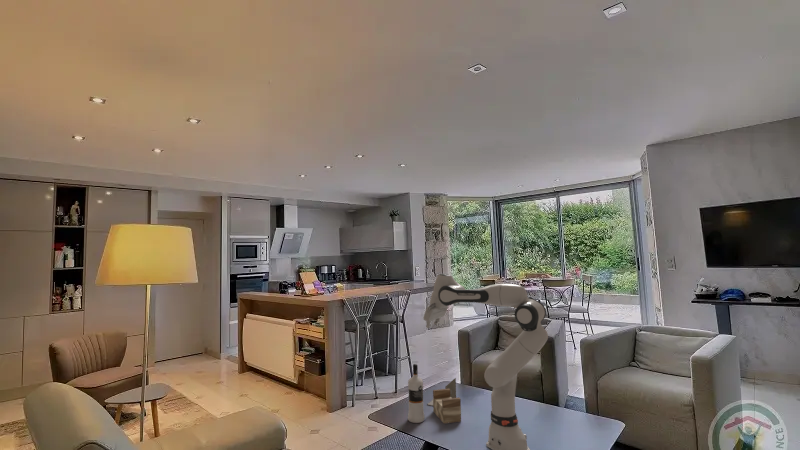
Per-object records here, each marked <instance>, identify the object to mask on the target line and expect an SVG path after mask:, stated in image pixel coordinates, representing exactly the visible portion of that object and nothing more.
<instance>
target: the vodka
mask: <svg viewBox="0 0 800 450" xmlns="http://www.w3.org/2000/svg"><path fill="white" fill-rule="evenodd" d="M418 373H419V371H418V364H417V363H413V364H412V377H411V378H409V379H408V381H407V385H408V386H407V389H408V415H407V420H408V421H409V422H410V423H412V424H420V423H422V422H424V421H425V420H426V419H425V413H424V410H425V409H424V381H423V379H422V378H421V377H420V376H419V375H418Z"/></svg>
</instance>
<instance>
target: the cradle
mask: <svg viewBox="0 0 800 450" xmlns="http://www.w3.org/2000/svg"><path fill="white" fill-rule="evenodd" d="M432 397H433V398H432V400H433V406H432V407H433V413H434V414H435V415H436V417H438V418H439V420H440V421H441V422H442V424H450V423H451V424H452V423H458V422H459V423H460V422H462V403H461V401H462V400H461V397H456V398H451V397H450V389H449V388H448V389H445V388H440V389H433V390H432Z"/></svg>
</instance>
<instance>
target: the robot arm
mask: <svg viewBox="0 0 800 450" xmlns="http://www.w3.org/2000/svg"><path fill="white" fill-rule="evenodd" d="M458 303H459V304H460V303H477V304H483V305H484V304H485V305H490V306H495V307H507V308H508V307H509V308H514V309H515V310H514V319H515V321H516V323H517V324H518V325H519V326H520V329H522V331H521V332H520V333H519V334H518V335H517V337H515V339H514V340H513V341H512V342H511V343H510V344H509V345H508V346H507V347H506V348H505V349H504V350H503V351H502V352H501V353H500V354H499V355H498V356H497V357H496V358H495V359H494V360H493V361H492V362H491V363H490V364H489V365H488V366H487V367H486V369H485V371H484V374H483V375H484V381H485V382H486V384H487V385H488V386H489V387H491V388H492V390H491V391H492V392H491V395H490V396H491V397H490V399H491V401H490V402H491V404H490V405H491V411H490V420H491V421H490V424H489V426H488V441H486V442H485V445H486V447H487V448H489V449H490V450H531V449H530V447H529V446H528V443H527V440H528V436H527V434H526V433H524V432H523V431H522V428H521V427H520V425H519V419H518V417H517V412H516V389H517V380H518V373H520V371H521V370H523V368H524V367H526V366H527V365H528V363H529V362H530V361H532V359H534V357H535V356H536V355H537V354H538V353H539V352H540V350H541V349H542V348H544V346H545V344H546V343H547V341H548V339H549V335H548V332H547V330H546V329H545V328H544V327H543V325H542V323H541V322H542V321H544V320H545V317H546V315H547V309H546V307H545V305H544V304H543V303H542V302H541V301H538V300H537V299H535V298H534V297H532V296H530V297H528V293H527V290H526V288H525V287H524V286H522V285H519V284H514V283H513V284H512V283H495V284H489V285H485V286H483V287H478V288H474V289H473V288H472V289H466V288H465V287H464V285H461V284H460V283H458V281H457V280H455V278H454V277H453V275H451V274H449V273H440V274H437V277H436V279H435V282H434V284H433V291H432V292H431V296H430V300H429V305H428V306H427V307H426V309H425V310H424V311H425V312H424V314H423V320H424V321H426V322H425V323H426V325H425V327H426V329H429V328H431V326H432V325H431V323H432V322H433V321H434V322H433V324H434V325H439V322H440V320H441V318H442V317H444V316H446V314H447V310H448V307H449V306H451V305H454V304H458ZM541 351H542V350H541Z"/></svg>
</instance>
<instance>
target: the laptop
mask: <svg viewBox="0 0 800 450" xmlns="http://www.w3.org/2000/svg"><path fill="white" fill-rule="evenodd" d="M456 379H457V378H456V377H455V378H453V379H452V380H451V381H450V382H448V384H446V385H445V388H444V389H448V388H449V389H450V397H451V398H457V382H456V381H457V380H456ZM427 406H431V407H433V399H431V400H430V401H429V402H428V403H427Z"/></svg>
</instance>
